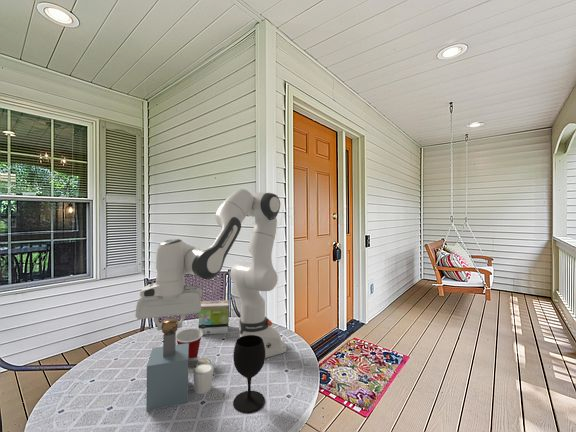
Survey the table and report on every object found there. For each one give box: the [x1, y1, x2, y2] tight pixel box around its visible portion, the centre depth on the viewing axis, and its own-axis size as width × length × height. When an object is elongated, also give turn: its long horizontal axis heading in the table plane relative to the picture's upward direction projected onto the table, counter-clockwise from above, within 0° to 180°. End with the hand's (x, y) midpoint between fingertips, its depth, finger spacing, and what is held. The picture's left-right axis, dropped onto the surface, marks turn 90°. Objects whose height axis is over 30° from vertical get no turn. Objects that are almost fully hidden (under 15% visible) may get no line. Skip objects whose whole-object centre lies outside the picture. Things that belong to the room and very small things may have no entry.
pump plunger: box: [161, 317, 179, 335], centre depth 90 cm, size 5×5×11 cm
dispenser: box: [145, 331, 199, 412], centre depth 91 cm, size 15×12×21 cm
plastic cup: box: [176, 327, 204, 358], centre depth 110 cm, size 11×11×12 cm
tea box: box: [198, 299, 230, 335], centre depth 142 cm, size 15×10×15 cm, turn 102°
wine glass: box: [232, 335, 266, 414], centre depth 87 cm, size 10×10×20 cm
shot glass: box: [192, 363, 214, 395], centre depth 94 cm, size 7×7×7 cm
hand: (169, 328), depth 90 cm, fingers closed on pump plunger, 5 cm apart
